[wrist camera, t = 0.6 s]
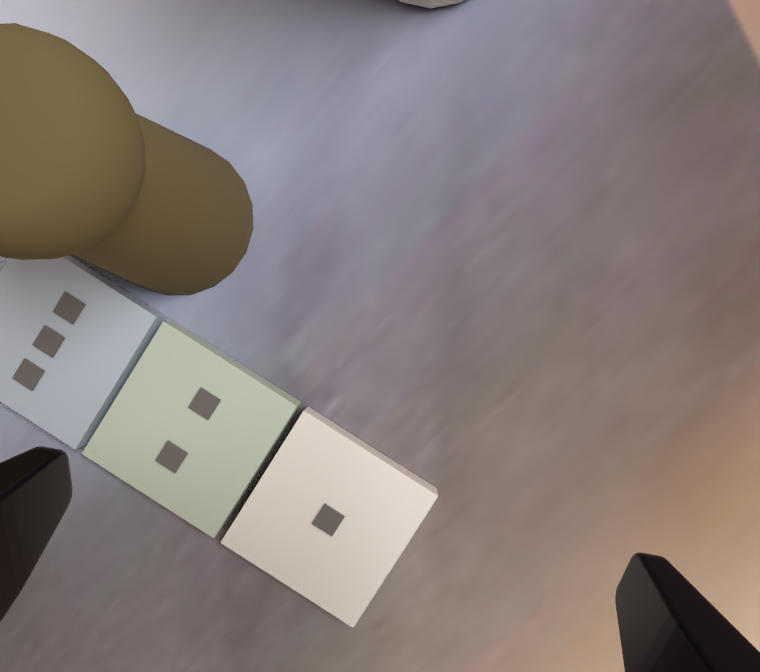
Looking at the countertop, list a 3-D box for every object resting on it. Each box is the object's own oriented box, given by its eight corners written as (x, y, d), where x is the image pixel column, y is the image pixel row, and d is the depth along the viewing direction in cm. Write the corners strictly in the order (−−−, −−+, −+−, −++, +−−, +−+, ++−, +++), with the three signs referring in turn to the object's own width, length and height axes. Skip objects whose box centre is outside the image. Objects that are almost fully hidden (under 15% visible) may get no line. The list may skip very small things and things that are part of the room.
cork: (93, 284, 23) (-190, 250, 12) (111, 132, 23) (-158, -47, 12) (243, 305, 23) (97, 289, 12) (262, 151, 22) (134, -11, 11)
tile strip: (355, 614, 23) (352, 629, 22) (-37, 363, 23) (-59, 365, 22) (436, 488, 23) (438, 496, 21) (40, 236, 23) (22, 232, 22)
